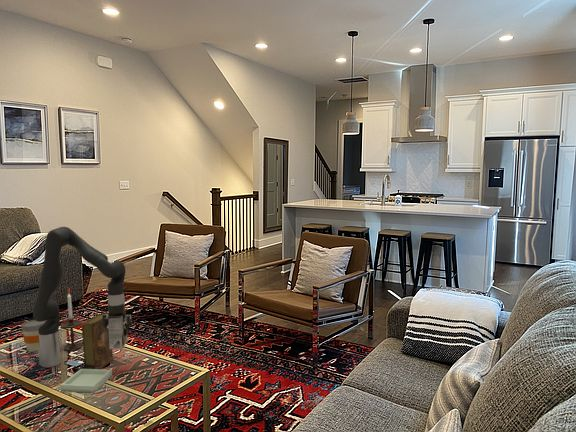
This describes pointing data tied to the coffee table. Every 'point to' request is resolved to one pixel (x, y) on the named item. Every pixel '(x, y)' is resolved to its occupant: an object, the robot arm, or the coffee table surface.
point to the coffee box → (116, 331)
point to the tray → (86, 380)
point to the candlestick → (71, 327)
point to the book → (96, 343)
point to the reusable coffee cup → (31, 334)
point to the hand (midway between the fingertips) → (118, 335)
